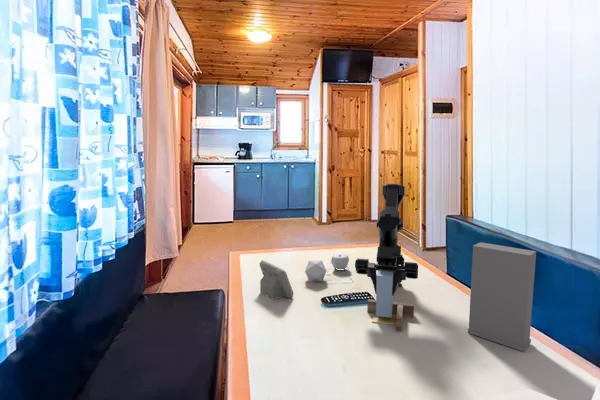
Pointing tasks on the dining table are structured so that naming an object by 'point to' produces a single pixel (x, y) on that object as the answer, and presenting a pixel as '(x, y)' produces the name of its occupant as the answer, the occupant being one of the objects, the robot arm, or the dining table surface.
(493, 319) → the grey upright tombstone
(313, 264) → the die
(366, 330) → the dining table surface
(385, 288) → the large blue square block
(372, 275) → the robot arm
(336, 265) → the apple
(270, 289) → the digital clock
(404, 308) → the wooden t-shaped piece
